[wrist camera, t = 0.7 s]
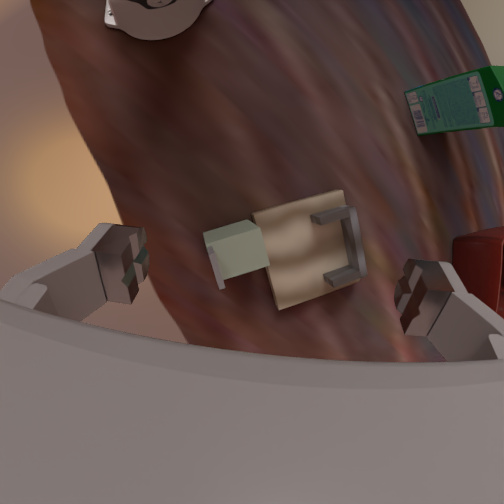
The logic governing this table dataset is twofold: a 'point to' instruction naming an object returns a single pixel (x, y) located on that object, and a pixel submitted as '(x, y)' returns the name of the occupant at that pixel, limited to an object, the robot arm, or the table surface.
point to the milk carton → (459, 102)
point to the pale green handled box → (235, 250)
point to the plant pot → (482, 266)
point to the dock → (311, 247)
